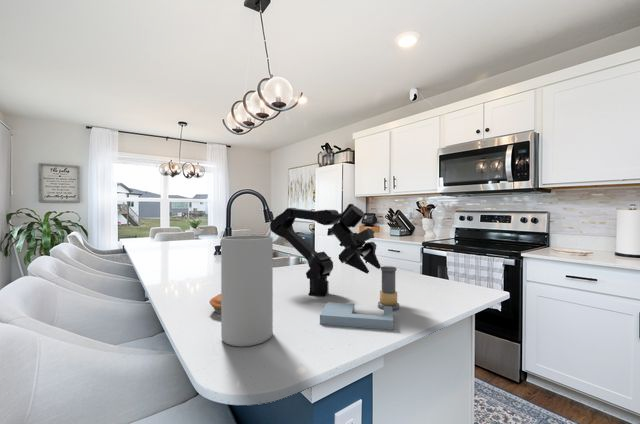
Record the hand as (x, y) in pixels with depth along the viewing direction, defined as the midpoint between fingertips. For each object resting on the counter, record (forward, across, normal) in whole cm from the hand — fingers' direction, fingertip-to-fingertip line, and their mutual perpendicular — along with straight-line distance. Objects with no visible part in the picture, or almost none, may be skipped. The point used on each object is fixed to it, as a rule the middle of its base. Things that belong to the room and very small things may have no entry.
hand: (374, 270), depth 101 cm
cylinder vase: (-2, -42, +19) cm, 46 cm away
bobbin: (+12, 0, +5) cm, 13 cm away
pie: (-16, -31, +32) cm, 47 cm away
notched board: (+9, -16, +7) cm, 19 cm away
